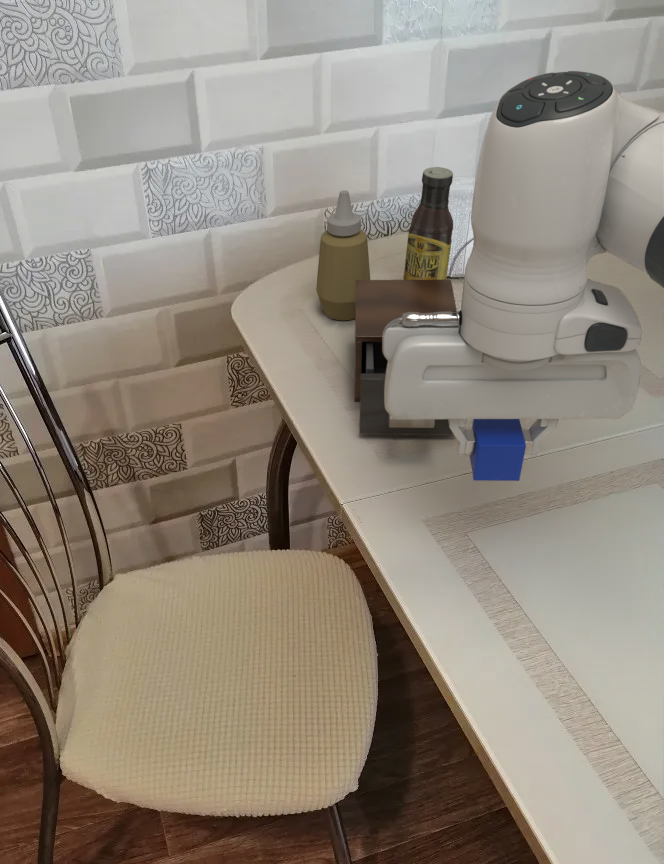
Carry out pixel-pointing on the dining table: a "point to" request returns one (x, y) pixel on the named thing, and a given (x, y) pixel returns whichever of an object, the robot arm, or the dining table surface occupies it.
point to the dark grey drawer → (373, 405)
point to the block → (497, 450)
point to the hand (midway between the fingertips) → (496, 451)
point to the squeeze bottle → (342, 261)
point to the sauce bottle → (430, 229)
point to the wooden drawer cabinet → (393, 309)
